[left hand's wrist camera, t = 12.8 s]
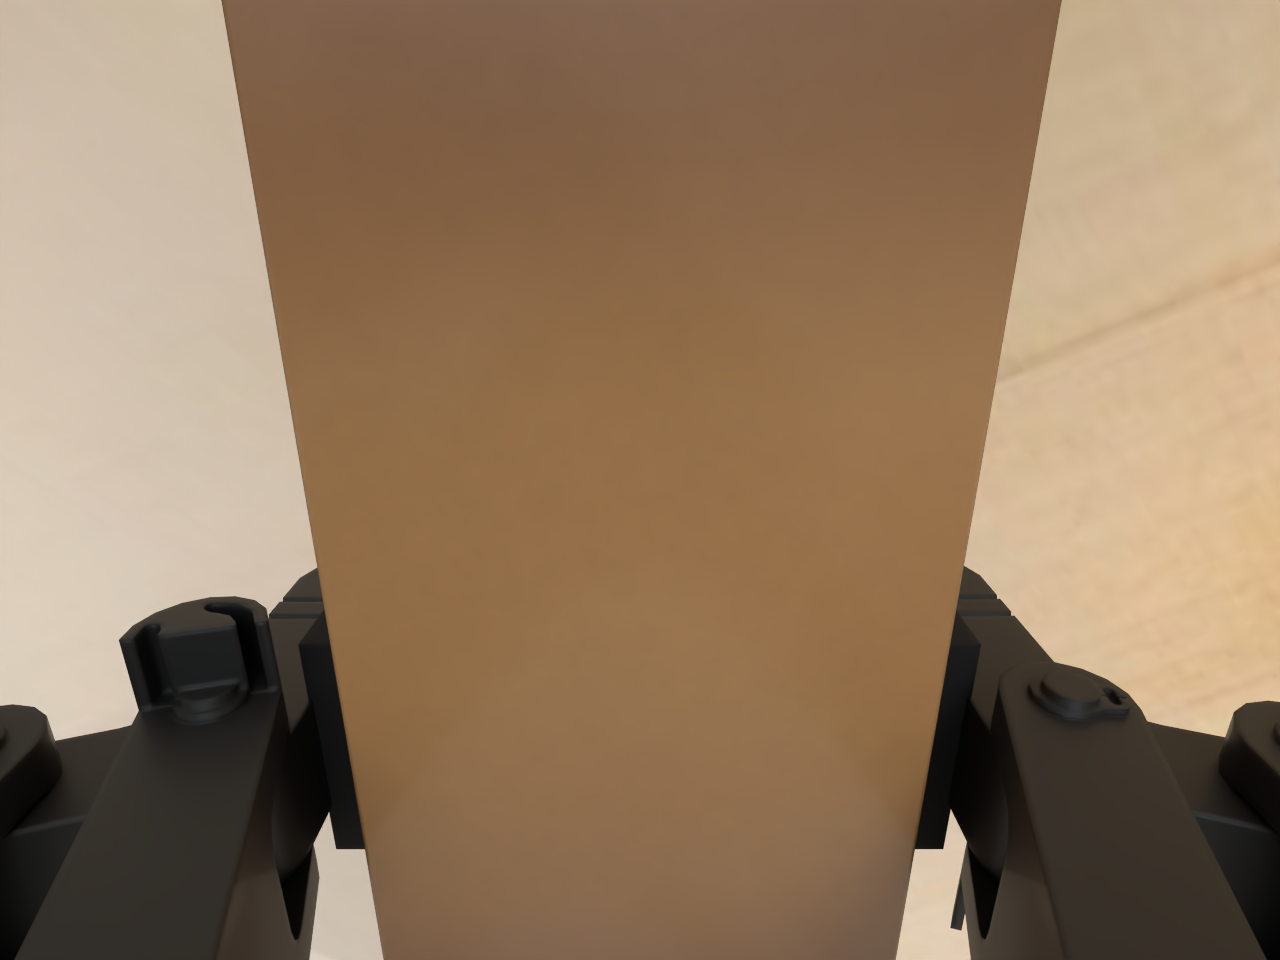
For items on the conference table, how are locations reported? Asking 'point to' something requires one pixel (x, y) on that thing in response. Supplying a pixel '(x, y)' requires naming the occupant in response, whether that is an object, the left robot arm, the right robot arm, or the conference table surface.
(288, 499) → the conference table surface
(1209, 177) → the conference table surface
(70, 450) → the conference table surface
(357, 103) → the bar
